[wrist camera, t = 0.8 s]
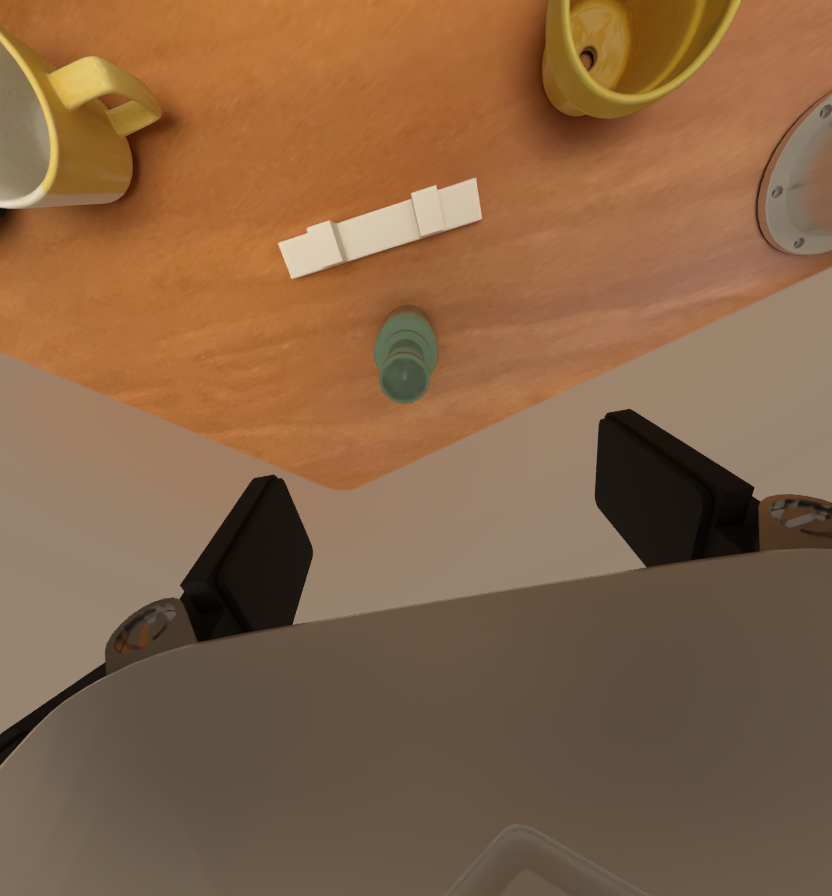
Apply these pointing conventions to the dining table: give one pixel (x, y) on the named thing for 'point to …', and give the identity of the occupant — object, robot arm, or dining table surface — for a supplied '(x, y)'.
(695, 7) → the plant pot
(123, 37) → the dining table surface
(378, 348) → the green bottle
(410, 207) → the u rest
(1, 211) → the bottle
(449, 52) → the dining table surface
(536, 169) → the dining table surface
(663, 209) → the dining table surface
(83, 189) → the mug
